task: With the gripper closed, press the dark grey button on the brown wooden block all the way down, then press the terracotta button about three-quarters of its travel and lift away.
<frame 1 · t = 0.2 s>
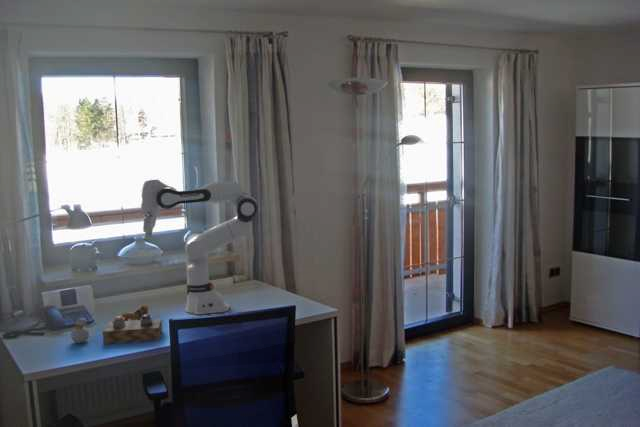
hand: (148, 238, 334), 39 cm above the table, tool pointing down, fingers open, 8 cm apart
brown wooden block: (133, 337, 300), on the table
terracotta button: (119, 323, 298), point 7 cm above the table, slide at 0.0 cm
lion figurine: (134, 325, 319), on the table
perfume bottle: (82, 343, 295), on the table
grey button: (146, 321, 300), point 7 cm above the table, slide at 0.0 cm
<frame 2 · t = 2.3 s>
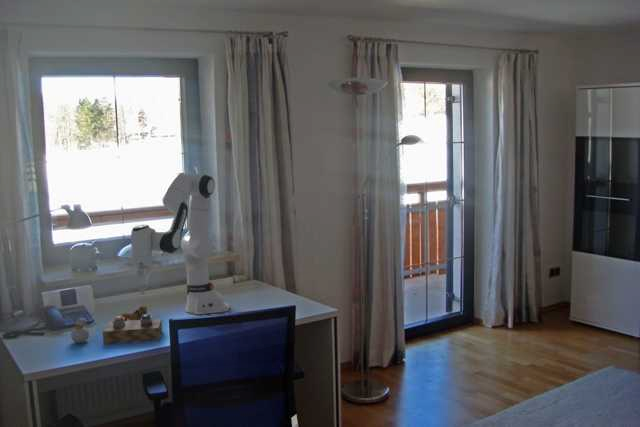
hand: (144, 291, 298), 21 cm above the table, tool pointing down, fingers open, 7 cm apart
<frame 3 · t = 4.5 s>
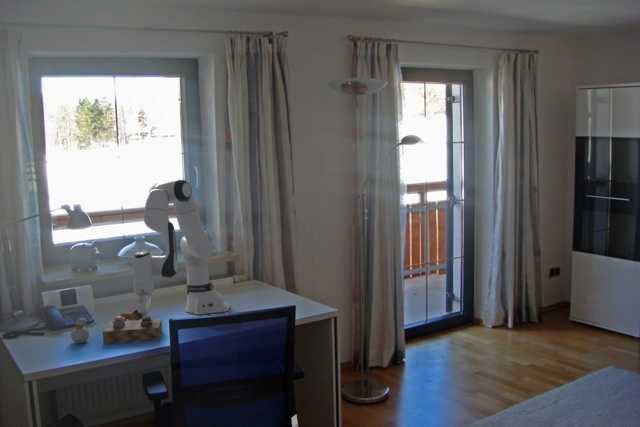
hand: (145, 317, 299), 9 cm above the table, tool pointing down, fingers closed, pressing on grey button
grey button: (146, 323, 300), point 6 cm above the table, slide at 0.9 cm, touching gripper
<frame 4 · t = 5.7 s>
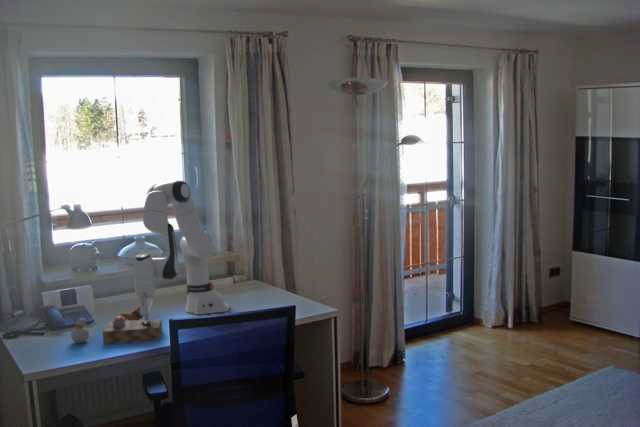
hand: (147, 319, 300), 8 cm above the table, tool pointing down, fingers closed
grey button: (146, 328, 300), point 4 cm above the table, slide at 3.1 cm
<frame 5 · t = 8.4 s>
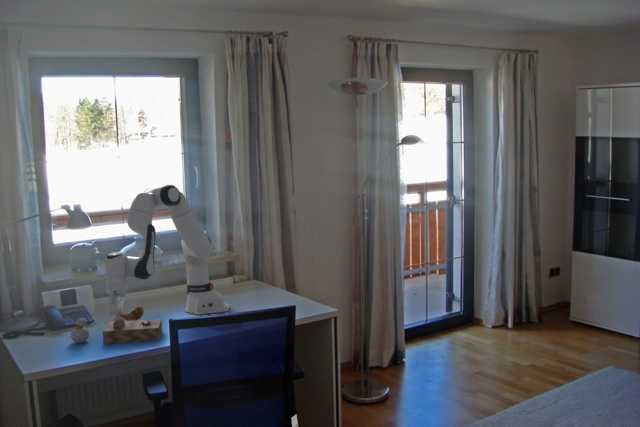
hand: (118, 318, 298), 9 cm above the table, tool pointing down, fingers closed, pressing on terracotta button
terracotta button: (119, 324, 298), point 7 cm above the table, slide at 0.6 cm, touching gripper
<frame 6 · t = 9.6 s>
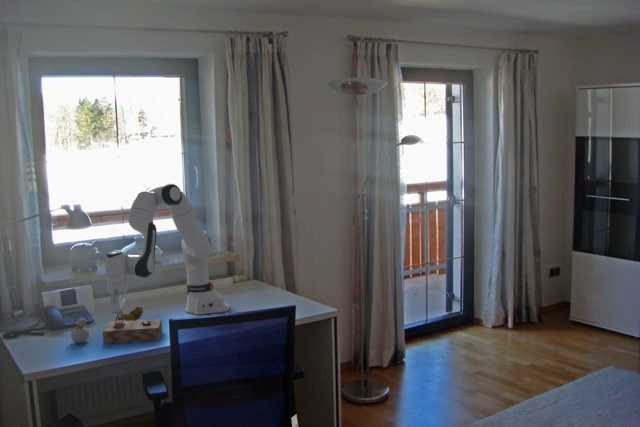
hand: (119, 317, 298), 10 cm above the table, tool pointing down, fingers closed
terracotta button: (119, 327, 298), point 5 cm above the table, slide at 2.1 cm
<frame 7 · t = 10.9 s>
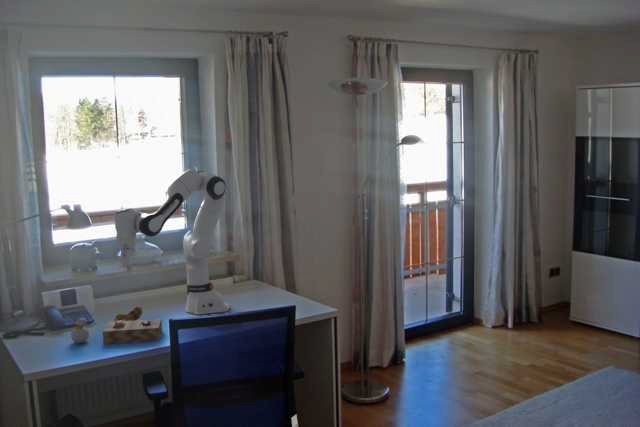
hand: (129, 271, 310), 28 cm above the table, tool pointing down, fingers closed
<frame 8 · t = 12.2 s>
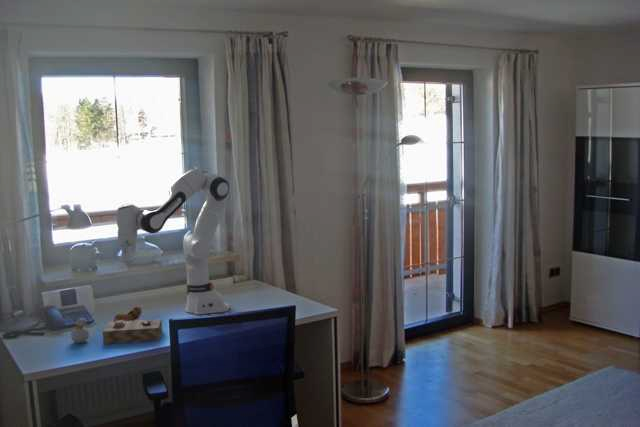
hand: (129, 268, 310), 29 cm above the table, tool pointing down, fingers closed
at the end: grey button slide at 3.1 cm; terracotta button slide at 2.1 cm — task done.
